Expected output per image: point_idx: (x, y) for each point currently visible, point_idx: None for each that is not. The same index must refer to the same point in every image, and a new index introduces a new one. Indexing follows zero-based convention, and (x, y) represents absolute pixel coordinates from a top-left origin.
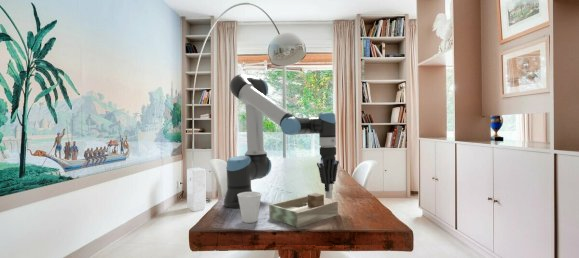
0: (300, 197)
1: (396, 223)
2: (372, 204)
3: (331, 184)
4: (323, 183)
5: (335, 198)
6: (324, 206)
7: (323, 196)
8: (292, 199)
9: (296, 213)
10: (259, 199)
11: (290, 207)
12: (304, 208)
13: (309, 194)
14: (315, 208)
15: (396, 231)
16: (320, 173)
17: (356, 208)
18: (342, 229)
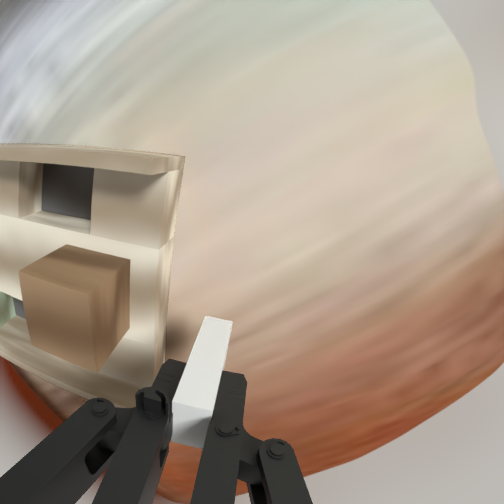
0: (67, 150)
1: None
2: (423, 407)
3: (199, 445)
4: (143, 394)
5: (491, 201)
6: (52, 380)
7: (99, 363)
8: (9, 150)
9: None
10: None
11: (3, 180)
12: (30, 257)
13: (30, 278)
14: (7, 358)
15: (158, 494)
16: (17, 476)
17: (327, 397)
18: (64, 414)
